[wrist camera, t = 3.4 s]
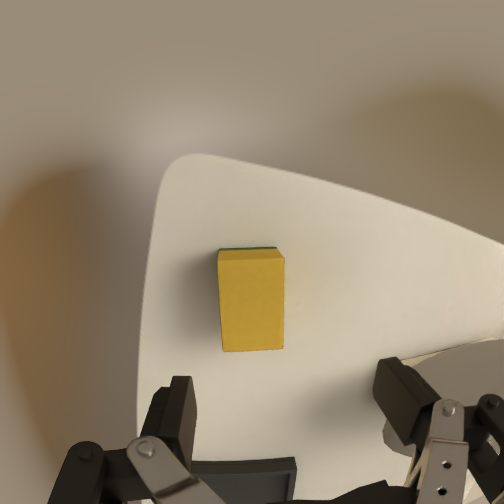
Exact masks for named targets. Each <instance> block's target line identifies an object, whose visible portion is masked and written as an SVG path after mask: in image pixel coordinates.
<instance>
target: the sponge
mask: <svg viewBox="0 0 504 504" xmlns="http://www.w3.org/2000/svg"><path fill="white" fill-rule="evenodd" d="M217 272H218V289H219V305H220V320H221V334H222V347H223V352H237V351H258V350H274V349H283V342H284V257H283V256H282V254H281V253H280V252H279V250H278V249H277V248H276V247H255V248H227V249H219V254H218V259H217Z"/></svg>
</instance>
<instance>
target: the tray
mask: <svg viewBox="0 0 504 504" xmlns="http://www.w3.org/2000/svg"><path fill="white" fill-rule="evenodd" d="M190 474H191V475H192V476H193V477H194V478H197V477H198V478H200V479H202V480H203V481H204V482H205V483H206V484H207V485H208V486H209V487H210V488H211V489H212V490H213V491H214V492H215V493H216V494H217V495H218V496H219V497H220V498H221V499H222V500H223V501H224V502H225V503H226V504H266V503H272V502H282V501H290V500H293V494H294V487H295V481H296V474H297V466H296V462H295V458H294V457H288V458H278V459H267V460H253V461H226V462H207V461H191V469H190Z"/></svg>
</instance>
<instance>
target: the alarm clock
mask: <svg viewBox="0 0 504 504" xmlns="http://www.w3.org/2000/svg"><path fill="white" fill-rule="evenodd" d="M401 362H402V363H403V364H404V365H408V366H410V367H412V368H413V369H415V370H416V371H417V372H418V373H419V374H420V375H421V377H423V378H424V379H425V380H426V383H427V382H428V384H429V385H430V386H431V387H432V388H433V389H434V390H435V391H436V392H437V393H438V394H439V396H440V397H441V398H442V399H453V400H456V401H458V402H460V403H461V404H462V406H463V407H465V406H473V405H477V403H478V401H479V399H480V397H481V396H483V395H485V394H495V395H498V396H500V397H501V398H502V399H503V400H504V339H501V340H497V339H496V338H495V337H494V336H491V337H488V338H485V339H482V340H478V341H475V342H472V343H469V344H465V345H462V346H458V347H455V348H451V349H447V350H444V351H440V352H436V353H432V354H428V355H423V356H419V357H415V358H410V359H405V360H401ZM382 432H383V438H384V443H385V444H386V445H387V446H388V447H389V448H390V449H392V450H393V451H394V452H397V453H400V454H403V455H406V456H409V457H413V453H414V450H415V448H416V445H415V444H411V445H408V446H405V447H404V445H403V443H402V442H401V440H400V439H399V437H398V435H397V434H396V432H395V431H394V429H393V428H392V426H391V424H390V423H389V421H388V420H386V423H385V426H384V429H383V431H382ZM493 439H494V438H493V437H492V435H490V437H489V438H488V440H487V441H490V440H493Z"/></svg>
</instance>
